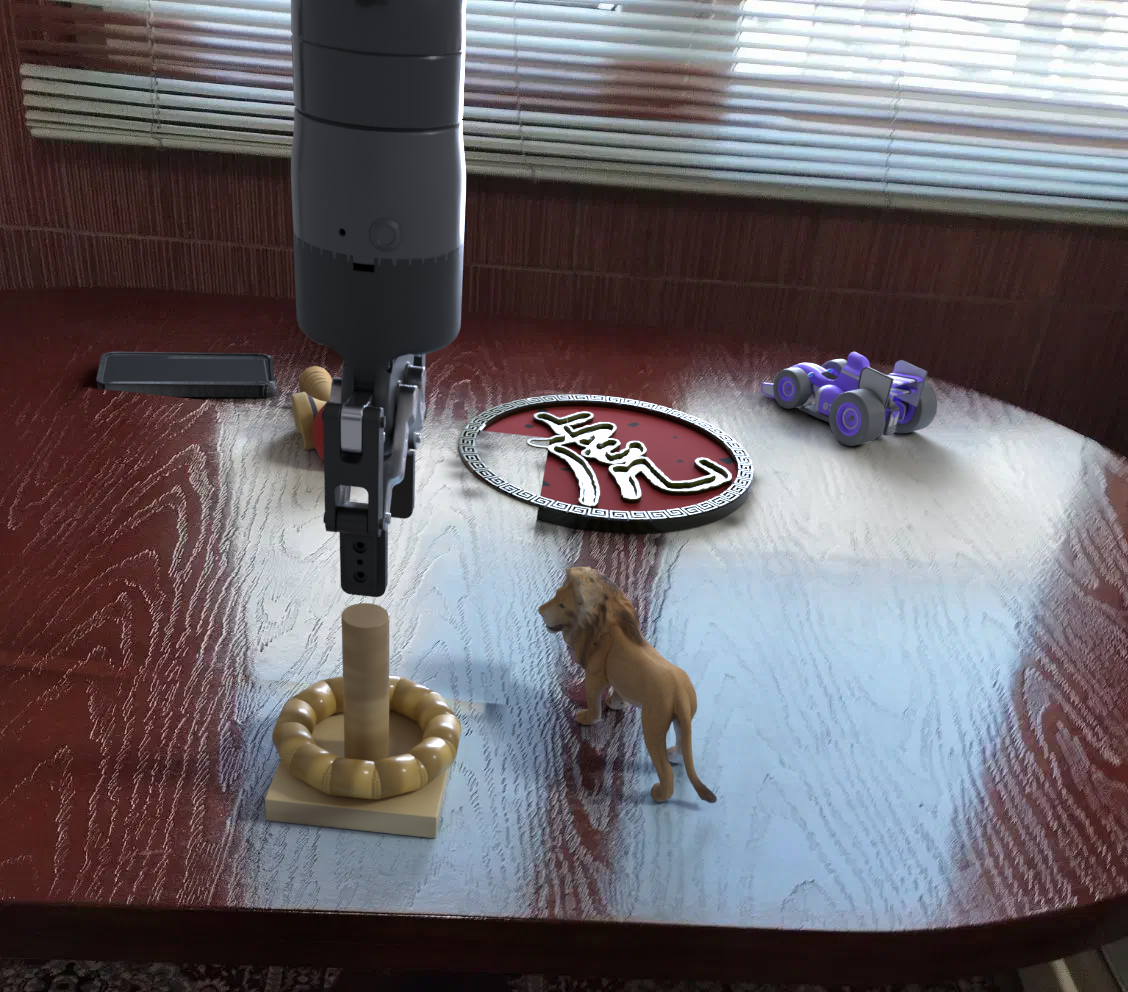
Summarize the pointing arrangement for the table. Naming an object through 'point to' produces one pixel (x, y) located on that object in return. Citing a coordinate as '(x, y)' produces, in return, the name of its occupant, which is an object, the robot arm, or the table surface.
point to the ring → (366, 775)
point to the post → (362, 744)
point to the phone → (188, 374)
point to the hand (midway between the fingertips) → (379, 551)
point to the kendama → (311, 407)
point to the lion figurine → (626, 670)
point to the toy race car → (858, 397)
